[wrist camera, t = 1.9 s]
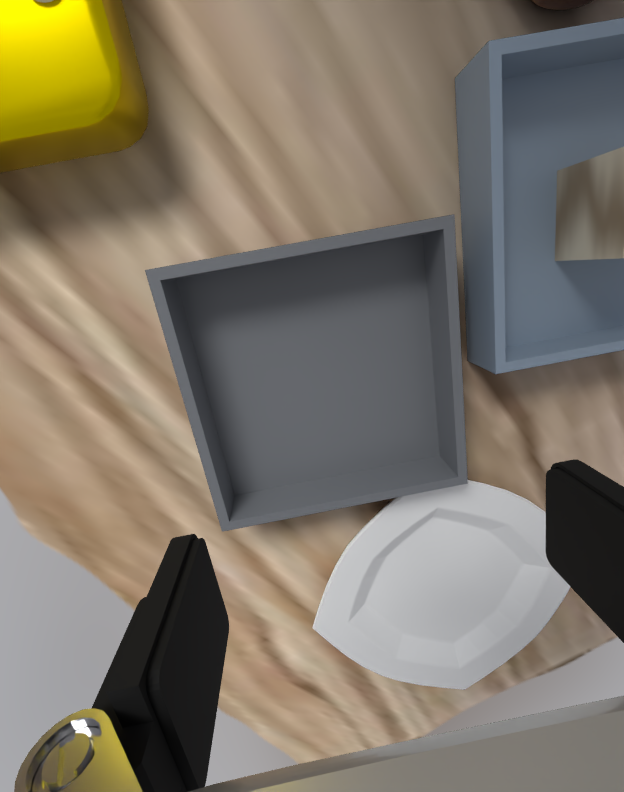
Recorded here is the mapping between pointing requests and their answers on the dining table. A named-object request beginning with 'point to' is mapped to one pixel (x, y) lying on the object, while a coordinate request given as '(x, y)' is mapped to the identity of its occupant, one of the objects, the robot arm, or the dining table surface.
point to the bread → (561, 4)
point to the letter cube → (591, 209)
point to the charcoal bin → (321, 369)
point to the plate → (442, 586)
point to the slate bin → (536, 194)
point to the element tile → (67, 82)
